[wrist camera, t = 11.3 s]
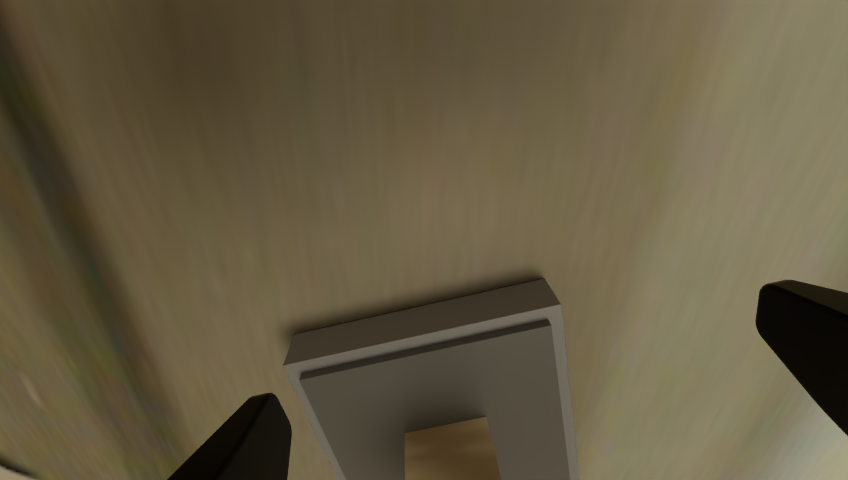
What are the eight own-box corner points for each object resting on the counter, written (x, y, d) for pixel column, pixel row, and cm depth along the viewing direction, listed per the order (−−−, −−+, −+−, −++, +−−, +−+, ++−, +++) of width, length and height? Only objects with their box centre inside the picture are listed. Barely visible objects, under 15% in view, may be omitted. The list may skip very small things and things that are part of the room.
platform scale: (544, 278, 22) (564, 310, 19) (568, 472, 29) (586, 516, 26) (294, 334, 23) (280, 372, 20) (374, 511, 29) (371, 557, 27)
